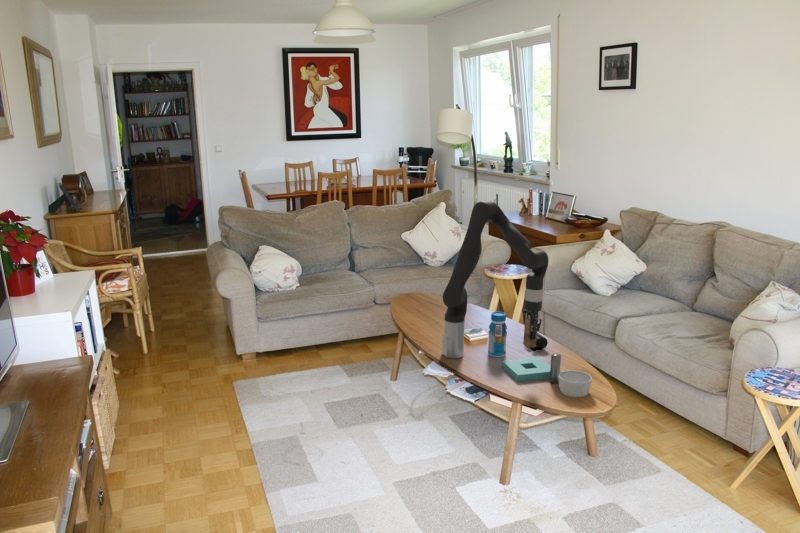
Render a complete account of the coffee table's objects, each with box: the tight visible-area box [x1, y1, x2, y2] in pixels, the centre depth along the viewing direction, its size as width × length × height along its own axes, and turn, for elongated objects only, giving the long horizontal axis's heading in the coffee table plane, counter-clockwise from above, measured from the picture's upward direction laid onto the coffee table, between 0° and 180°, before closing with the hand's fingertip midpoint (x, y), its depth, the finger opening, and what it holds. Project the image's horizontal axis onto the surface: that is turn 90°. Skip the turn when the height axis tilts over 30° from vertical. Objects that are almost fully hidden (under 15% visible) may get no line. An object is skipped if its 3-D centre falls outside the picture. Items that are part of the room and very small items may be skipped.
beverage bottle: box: [487, 311, 508, 358], centre depth 309 cm, size 8×8×20 cm
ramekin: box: [558, 369, 593, 398], centre depth 272 cm, size 13×13×7 cm
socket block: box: [501, 356, 551, 382], centre depth 291 cm, size 18×16×3 cm
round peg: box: [549, 353, 562, 385], centre depth 280 cm, size 4×4×12 cm
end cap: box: [528, 332, 549, 352], centre depth 320 cm, size 10×7×7 cm
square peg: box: [522, 317, 538, 349], centre depth 280 cm, size 4×4×12 cm
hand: (530, 337), depth 281 cm, fingers closed on square peg, 4 cm apart
